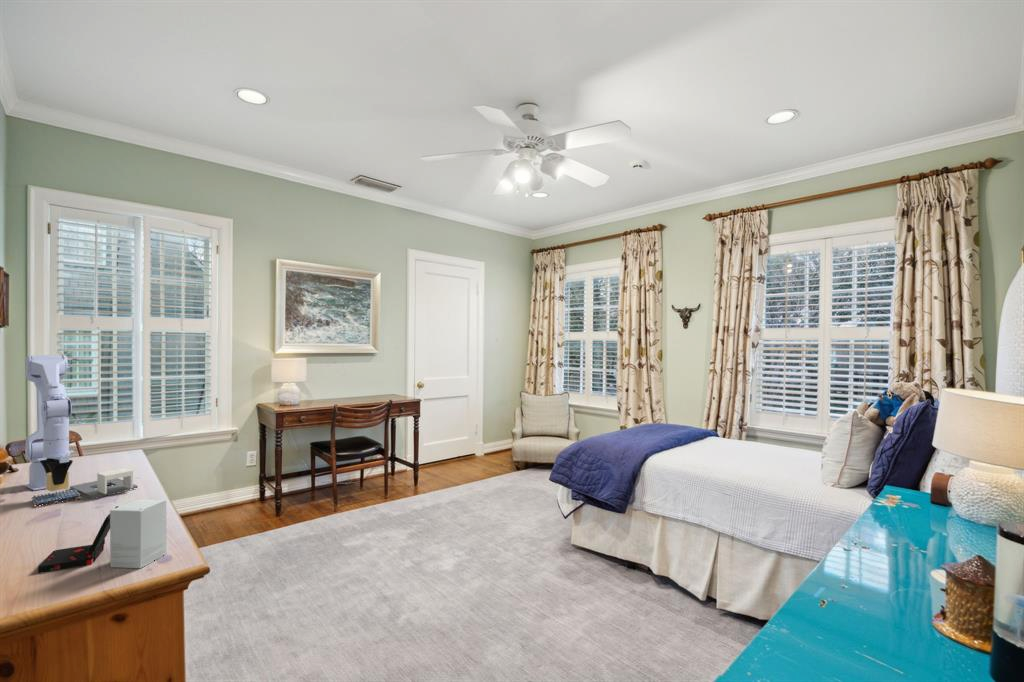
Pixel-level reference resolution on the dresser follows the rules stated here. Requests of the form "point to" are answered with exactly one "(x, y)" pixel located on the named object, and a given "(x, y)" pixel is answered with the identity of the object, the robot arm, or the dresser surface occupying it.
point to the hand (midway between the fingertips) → (56, 483)
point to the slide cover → (114, 474)
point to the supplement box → (137, 533)
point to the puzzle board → (91, 493)
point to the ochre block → (53, 487)
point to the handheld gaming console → (77, 553)
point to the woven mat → (56, 498)
